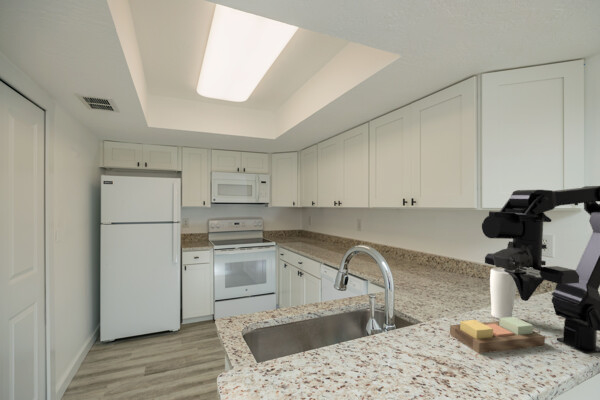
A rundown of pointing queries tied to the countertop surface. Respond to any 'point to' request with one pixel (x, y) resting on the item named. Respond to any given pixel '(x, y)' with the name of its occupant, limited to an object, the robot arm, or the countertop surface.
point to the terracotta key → (499, 331)
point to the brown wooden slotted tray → (497, 340)
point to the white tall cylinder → (501, 293)
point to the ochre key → (476, 329)
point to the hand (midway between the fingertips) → (524, 300)
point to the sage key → (516, 325)
